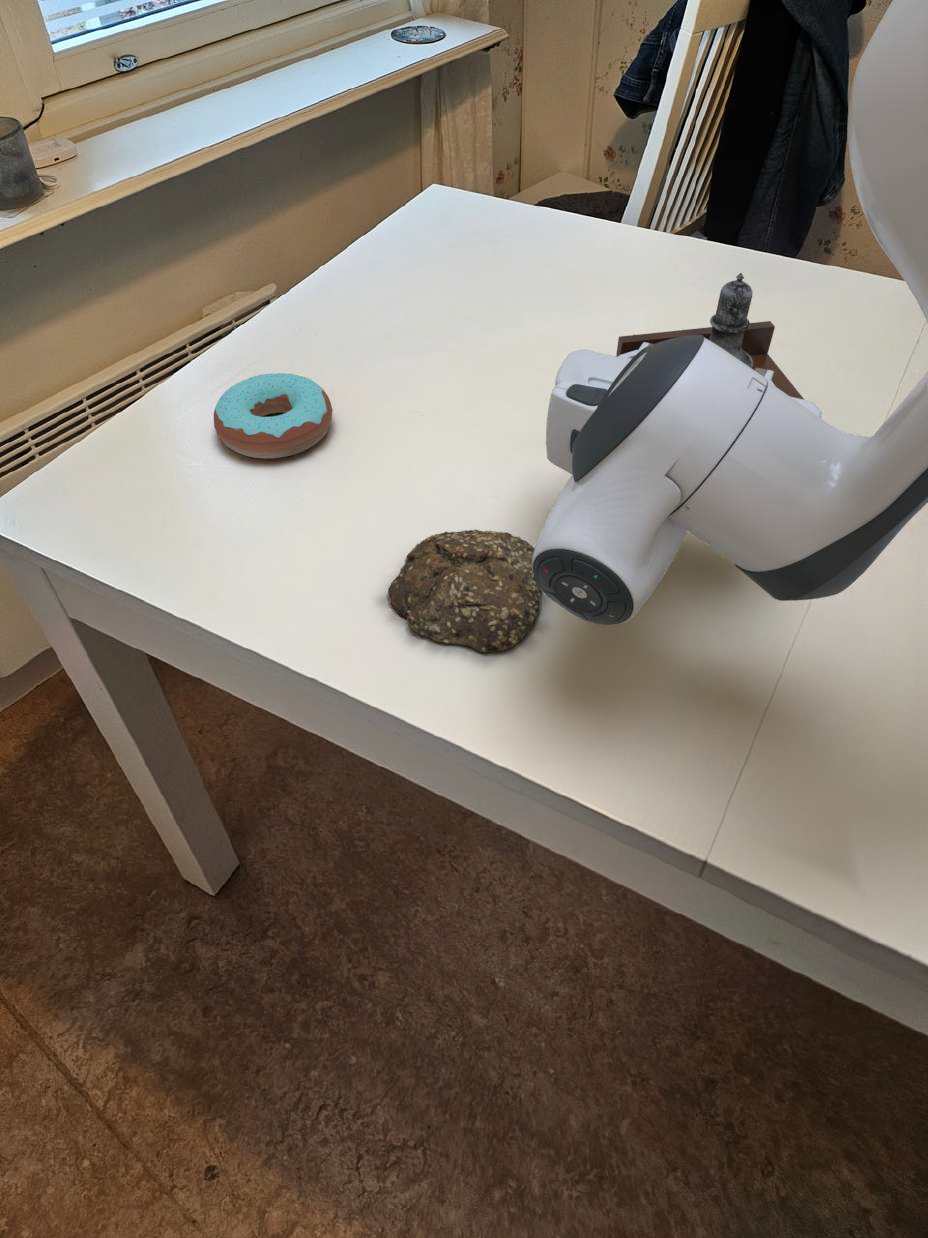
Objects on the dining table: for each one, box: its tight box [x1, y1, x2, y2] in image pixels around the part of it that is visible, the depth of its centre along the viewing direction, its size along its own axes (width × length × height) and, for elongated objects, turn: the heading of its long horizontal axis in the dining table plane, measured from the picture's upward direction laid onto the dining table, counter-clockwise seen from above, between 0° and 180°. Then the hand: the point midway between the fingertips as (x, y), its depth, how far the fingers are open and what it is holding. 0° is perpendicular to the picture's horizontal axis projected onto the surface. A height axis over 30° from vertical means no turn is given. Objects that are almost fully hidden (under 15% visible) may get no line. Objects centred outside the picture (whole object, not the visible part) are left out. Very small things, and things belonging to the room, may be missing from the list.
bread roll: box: [387, 529, 543, 654], centre depth 71 cm, size 13×12×5 cm
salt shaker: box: [709, 272, 754, 368], centre depth 80 cm, size 6×6×12 cm
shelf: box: [615, 320, 805, 400], centre depth 86 cm, size 16×14×8 cm
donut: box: [213, 372, 333, 460], centre depth 88 cm, size 12×12×4 cm
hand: (706, 363), depth 72 cm, fingers open, 8 cm apart
